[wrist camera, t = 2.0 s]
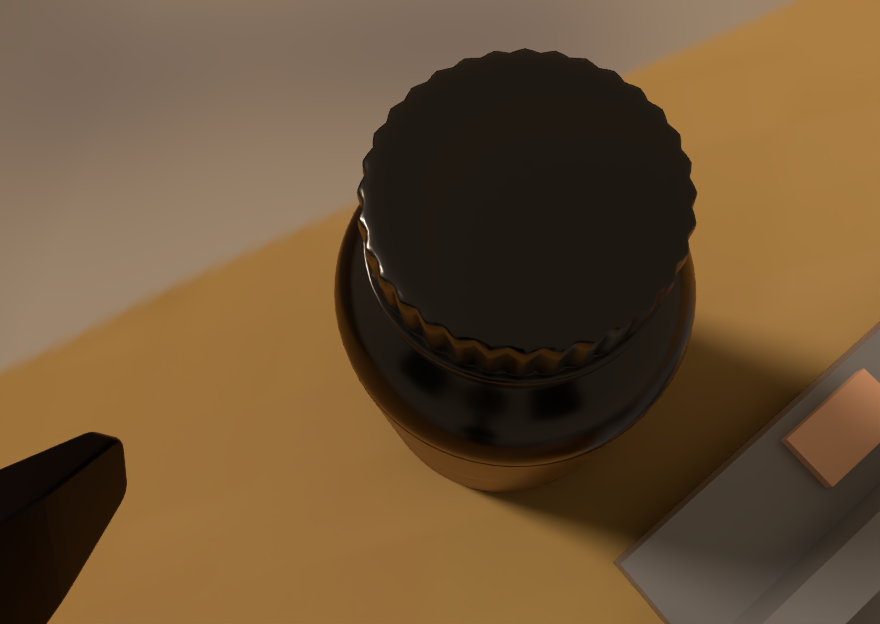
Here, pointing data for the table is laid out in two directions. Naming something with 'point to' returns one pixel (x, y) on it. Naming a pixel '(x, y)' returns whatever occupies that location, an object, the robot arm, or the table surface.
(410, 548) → the table surface
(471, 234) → the supplement bottle
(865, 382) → the grey recessed tray
